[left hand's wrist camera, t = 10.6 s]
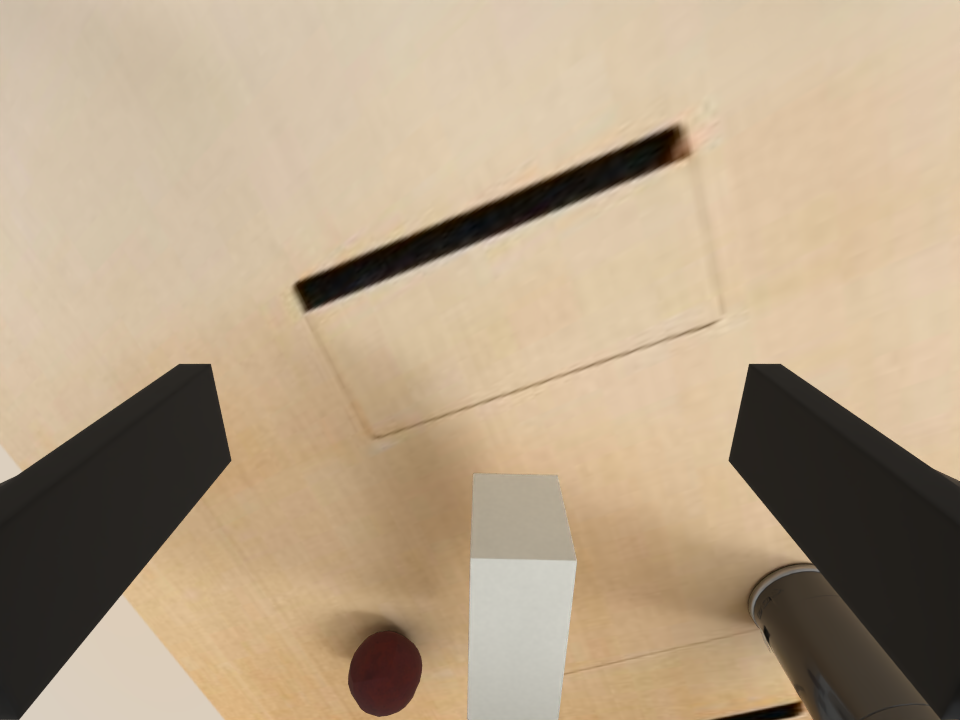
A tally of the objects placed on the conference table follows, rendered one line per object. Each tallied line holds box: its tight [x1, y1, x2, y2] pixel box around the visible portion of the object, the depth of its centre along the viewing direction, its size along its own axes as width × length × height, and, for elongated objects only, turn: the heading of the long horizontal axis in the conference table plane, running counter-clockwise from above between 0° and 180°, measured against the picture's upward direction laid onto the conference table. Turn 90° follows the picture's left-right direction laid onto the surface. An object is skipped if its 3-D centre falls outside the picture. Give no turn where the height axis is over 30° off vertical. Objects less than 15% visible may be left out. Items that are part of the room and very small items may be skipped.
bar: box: [467, 473, 577, 720], centre depth 35 cm, size 24×6×8 cm, turn 179°
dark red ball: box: [348, 631, 422, 717], centre depth 52 cm, size 7×8×7 cm
